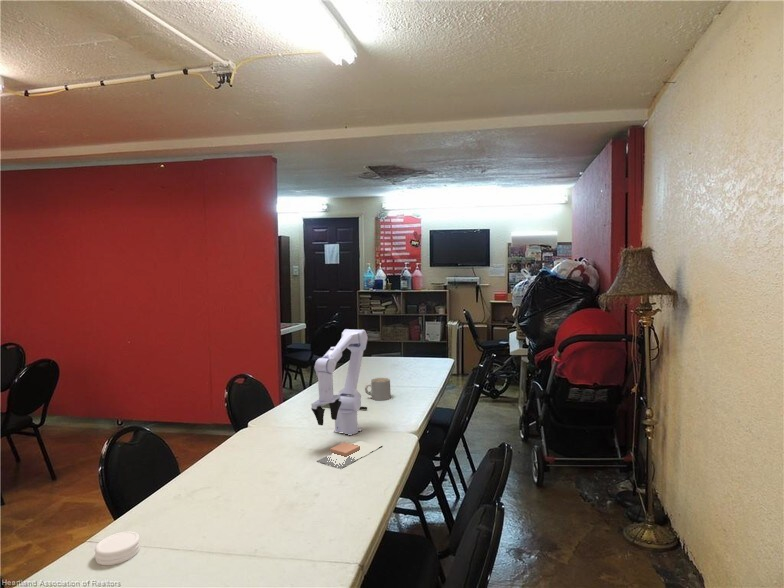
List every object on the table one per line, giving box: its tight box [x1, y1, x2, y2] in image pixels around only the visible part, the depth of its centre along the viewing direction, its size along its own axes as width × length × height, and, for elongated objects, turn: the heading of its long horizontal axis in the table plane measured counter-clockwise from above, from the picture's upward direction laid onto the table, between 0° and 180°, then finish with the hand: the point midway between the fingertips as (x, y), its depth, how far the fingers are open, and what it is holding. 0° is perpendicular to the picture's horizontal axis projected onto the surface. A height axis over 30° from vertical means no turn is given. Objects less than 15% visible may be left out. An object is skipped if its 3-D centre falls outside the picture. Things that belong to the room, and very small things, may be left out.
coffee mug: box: [364, 376, 392, 402], centre depth 256 cm, size 13×10×10 cm
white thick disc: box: [94, 530, 141, 566], centre depth 123 cm, size 10×10×4 cm
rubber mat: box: [316, 455, 357, 469], centre depth 182 cm, size 12×24×1 cm, turn 144°
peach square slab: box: [329, 441, 360, 457], centre depth 184 cm, size 2×8×8 cm
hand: (327, 422), depth 191 cm, fingers open, 7 cm apart
